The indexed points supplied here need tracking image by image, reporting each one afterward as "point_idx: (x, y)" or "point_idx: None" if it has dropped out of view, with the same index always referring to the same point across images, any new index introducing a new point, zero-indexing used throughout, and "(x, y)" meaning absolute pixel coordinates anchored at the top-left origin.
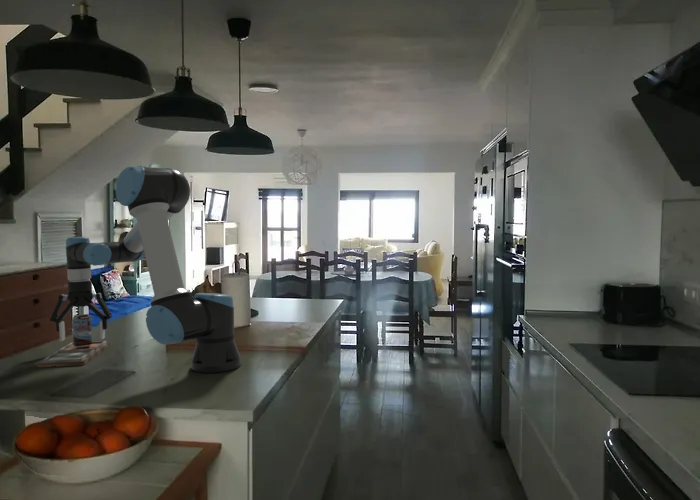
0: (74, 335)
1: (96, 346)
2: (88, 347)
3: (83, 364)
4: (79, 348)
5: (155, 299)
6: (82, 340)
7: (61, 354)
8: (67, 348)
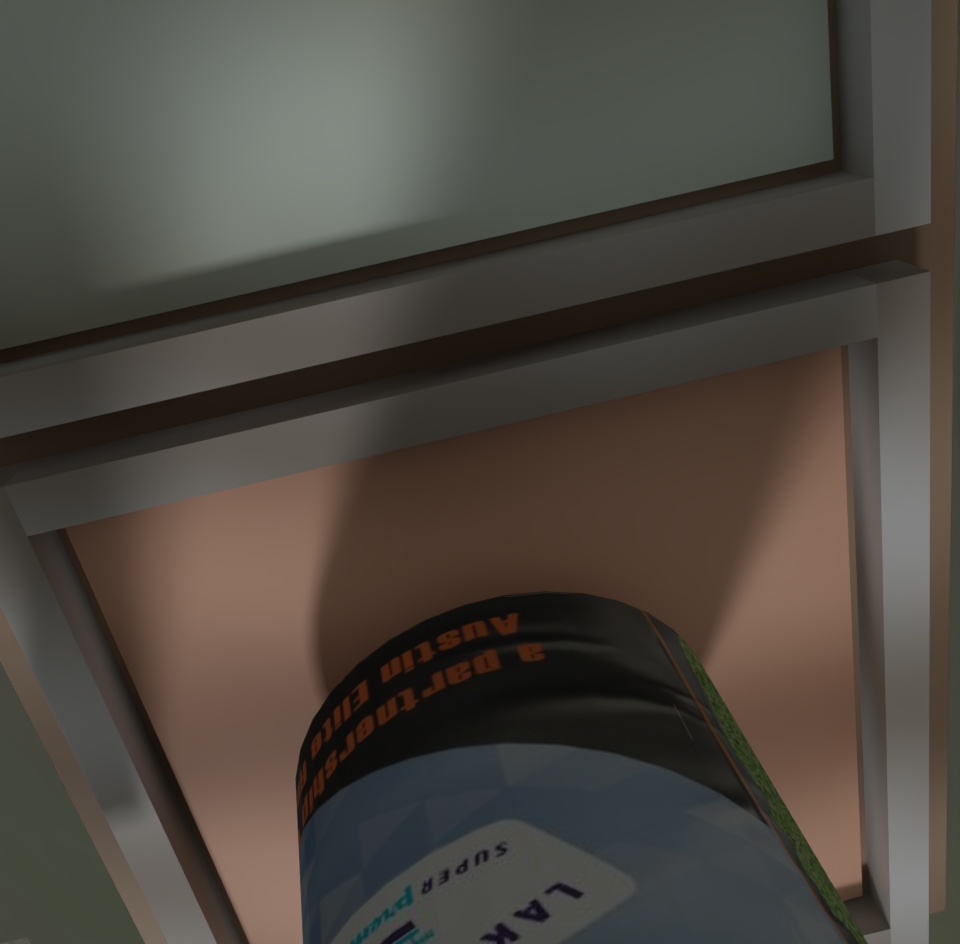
0: (742, 831)
1: (255, 820)
2: None
3: None
4: None
5: None
6: (425, 722)
7: (695, 40)
8: (835, 627)
